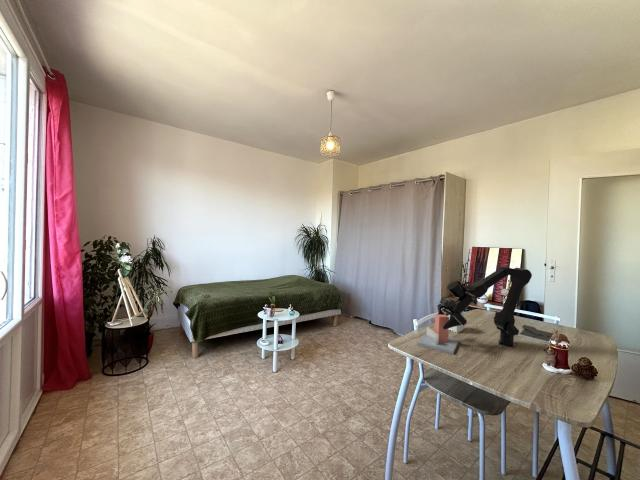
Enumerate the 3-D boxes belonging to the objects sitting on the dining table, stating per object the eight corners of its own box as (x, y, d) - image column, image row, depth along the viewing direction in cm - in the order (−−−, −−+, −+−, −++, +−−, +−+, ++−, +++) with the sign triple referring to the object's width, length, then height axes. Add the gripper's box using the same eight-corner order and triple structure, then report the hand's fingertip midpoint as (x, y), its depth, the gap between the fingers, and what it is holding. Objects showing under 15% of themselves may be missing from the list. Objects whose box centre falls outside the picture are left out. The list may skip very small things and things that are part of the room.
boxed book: (443, 338, 136) (444, 314, 136) (447, 342, 132) (449, 317, 132) (434, 338, 136) (435, 314, 136) (438, 342, 132) (439, 317, 132)
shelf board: (426, 334, 146) (426, 331, 146) (458, 341, 137) (459, 339, 137) (417, 345, 131) (417, 342, 131) (453, 354, 122) (453, 351, 122)
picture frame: (523, 329, 160) (514, 337, 147) (524, 324, 160) (514, 332, 147) (558, 337, 148) (551, 347, 135) (559, 332, 148) (552, 341, 135)
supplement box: (451, 326, 159) (452, 305, 159) (463, 330, 153) (464, 308, 153) (444, 328, 155) (444, 307, 155) (456, 333, 149) (457, 310, 149)
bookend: (426, 336, 139) (426, 327, 139) (428, 336, 139) (429, 327, 139) (435, 344, 129) (436, 334, 129) (438, 344, 129) (438, 334, 129)
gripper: (441, 288, 143) (420, 308, 143) (461, 297, 124) (437, 320, 124) (455, 303, 144) (434, 323, 143) (477, 314, 125) (453, 337, 125)
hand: (439, 325), depth 134 cm, fingers open, 8 cm apart
